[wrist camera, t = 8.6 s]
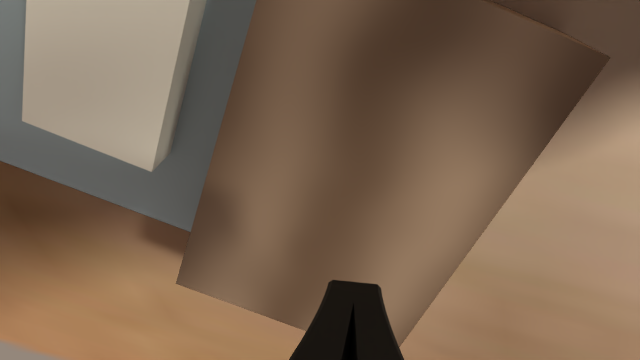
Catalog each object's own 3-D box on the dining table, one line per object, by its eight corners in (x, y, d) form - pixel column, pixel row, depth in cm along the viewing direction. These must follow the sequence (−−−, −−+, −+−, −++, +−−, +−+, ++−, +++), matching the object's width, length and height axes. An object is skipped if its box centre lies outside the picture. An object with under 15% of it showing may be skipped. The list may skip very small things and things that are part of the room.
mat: (297, -85, 16) (295, -86, 16) (201, 232, 24) (199, 235, 24) (-79, -252, 15) (-87, -255, 15) (-51, 137, 23) (-56, 139, 23)
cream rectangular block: (30, -106, 15) (66, -102, 17) (21, 120, 19) (51, 105, 21) (196, -33, 15) (215, -36, 17) (151, 172, 20) (170, 153, 22)
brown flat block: (563, 33, 17) (610, 57, 14) (387, 302, 25) (389, 361, 22) (302, -83, 16) (281, -88, 13) (205, 233, 24) (175, 283, 21)
